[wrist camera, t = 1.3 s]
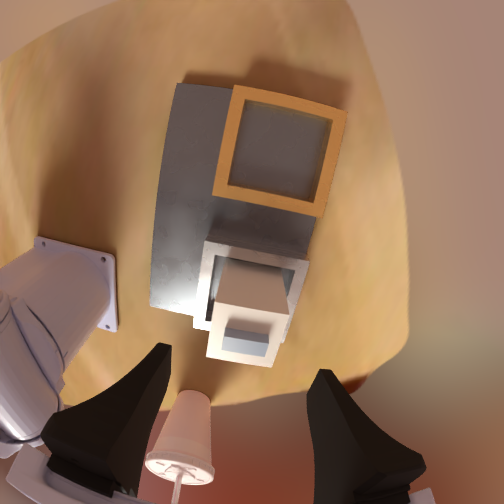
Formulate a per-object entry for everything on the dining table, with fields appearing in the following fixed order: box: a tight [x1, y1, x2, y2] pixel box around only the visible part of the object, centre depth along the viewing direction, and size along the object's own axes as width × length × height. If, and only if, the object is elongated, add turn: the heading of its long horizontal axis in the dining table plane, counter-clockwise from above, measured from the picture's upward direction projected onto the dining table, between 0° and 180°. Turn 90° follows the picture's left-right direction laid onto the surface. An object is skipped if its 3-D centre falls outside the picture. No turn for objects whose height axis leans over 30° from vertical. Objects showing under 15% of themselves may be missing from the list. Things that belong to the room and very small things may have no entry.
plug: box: [206, 258, 290, 367], centre depth 17 cm, size 4×4×7 cm
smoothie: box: [145, 390, 215, 504], centre depth 21 cm, size 6×6×14 cm
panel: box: [150, 83, 348, 343], centre depth 19 cm, size 11×17×2 cm, turn 169°
